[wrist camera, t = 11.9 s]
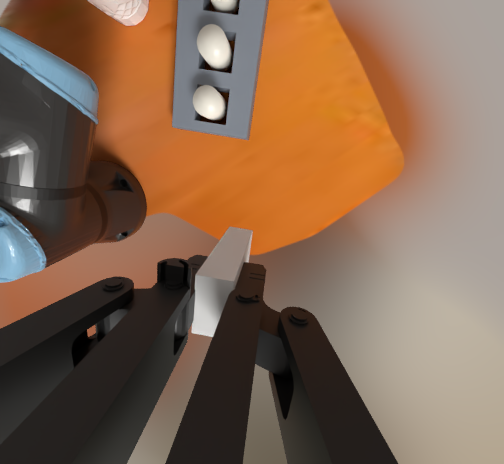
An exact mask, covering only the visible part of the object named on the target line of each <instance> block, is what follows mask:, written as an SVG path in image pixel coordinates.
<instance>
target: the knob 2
mask: <svg viewBox="0 0 504 464" xmlns="http://www.w3.org/2000/svg"><path fill="white" fill-rule="evenodd" d="M210 1H211V3H212V5H213V7H214V9H215V11H216V12H220V13H227V14H234V13H235V12H236V10H237V9H238V6H239V2H240V0H210Z"/></svg>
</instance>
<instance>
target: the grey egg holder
mask: <svg viewBox="0 0 504 464" xmlns="http://www.w3.org/2000/svg"><path fill="white" fill-rule="evenodd" d="M268 3H269V0H240V4H239V12H238V15H234V14H227V13H220V12H212V11H209V10H210V0H178V17H177V38H176V59H175V80H174V100H173V121H172V127H174V128H178V129H183V130H189V131H196V132H202V133H208V134H214V135H220V136H226V137H232V138H238V139H244V140H249V135H250V128H251V121H252V114H253V107H254V100H255V93H256V86H257V79H258V72H259V65H260V58H261V51H262V44H263V38H264V31H265V24H266V17H267V10H268ZM209 24H214V25H217V26H219V27H220V28H221V29H222V30H223V31H224V33H225V35H226V38H227V40H229V41H235V48H234V57H233V66H232V74H231V73H224V72H218V71H211V70H205V59H204V58H203V56H202V55H201V54H200V52H199V50H198V47H197V37H198V34H199V32H200V30H201V29H202V28H203V27H204V26H206V25H209ZM203 85H209V86H212V87H214V88H215V89H216V90H217V91H219V92H225V93H229V101H228V110H227V119H226V125H221V124H215V123H209V122H203V121H200V120H201V115H200V114H199V113H198V112H197V111H196V110H195V108H194V105H193V95H194V93H195V91H196V90H197V89H198V88H199V87H200V86H203Z"/></svg>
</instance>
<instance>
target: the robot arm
mask: <svg viewBox="0 0 504 464" xmlns="http://www.w3.org/2000/svg"><path fill="white" fill-rule="evenodd" d="M98 100H99V91H98V88H97V86H96V84H95V82H94V81H93V80H92V79H91V78H90V77H89V76H88V75H87V74H86V73H84V72H83V71H81V70H79V69H78V68H76V67H75V66H73V65H71V64H70V63H68V62H66V61H64V60H63V59H61V58H59V57H58V56H56V55H54V54H52V53H50V52H49V51H47V50H45V49H43V48H42V47H40V46H38V45H36V44H34V43H32V42H30V41H29V40H27V39H25V38H23V37H21V36H19V35H18V34H16V33H14V32H12V31H10V30H8V29H6V28H4V27H0V283H1V282H9V281H14V280H16V279H19V278H21V277H24V276H26V275H29V274H31V273H36V272H39V271H41V270H43V269H44V268H46V267H48V266H50V265H52V264H54V263H56V262H58V261H60V260H62V259H64V258H66V257H68V256H70V255H72V254H74V253H76V252H78V251H80V250H82V249H84V248H86V247H87V246H89V245H92V244H94V243H111V242H118V241H121V240H124V239H126V238H127V237H130V236H131V235H133V234H135V233H136V232H137V231H138V230H139V229H140V228H141V226H142V224H143V222H144V220H145V217H146V210H147V206H146V199H145V195H144V192H143V190H142V188H141V186H140V184H139V183H138V181H137V180H136V179H135V177H134V176H133V175H132V174H131V173H130V172H129V171H127V170H126V169H125V168H123V167H121V166H120V165H117V164H115V163H112V162H108V161H91V154H92V148H93V142H94V136H95V130H96V124H98V119H97V110H98ZM252 232H253V230H247V229H241V228H234V227H229V228H228V230H227V231H226V232H225V234H224V235H223V237H222V238H221V239H220V241H219V242H218V244H217V245H216V247H215V248H214V249H213V251H212V252H211V254H210V255H209V256H208V257H207V256H202V255H195V256H193V257H190V258H189V259H188V260H184V259H177V258H172V259H165V260H162V261H160V262H158V265H157V270H158V271H157V274H158V275H157V283H156V284H155V285H154V286H153V287H152V288H149V289H134V283H133V281H132V280H130V279H129V278H125V277H112V278H107V279H104V280H101V281H99V282H97V283H95V284H93V285H91V286H88V287H86V288H84V289H82V290H80V291H78V292H76V293H74V294H72V295H70V296H68V297H66V298H64V299H62V300H59V301H57V302H55V303H53V304H51V305H49V306H47V307H45V308H43V309H41V310H39V311H36V312H34V313H32V314H30V315H28V316H26V317H24V318H22V319H20V320H18V321H16V322H14V323H12V324H10V325H7V326H5V327H3V328H1V329H0V464H127V462H128V460H129V458H130V456H131V454H132V452H133V450H134V448H135V446H136V444H137V442H138V440H139V437H140V436H141V434H142V432H143V430H144V428H145V426H146V423H147V422H148V420H149V417H150V415H151V413H152V412H153V410H154V408H155V405H156V403H157V402H158V399H159V397H160V395H161V393H162V391H163V389H164V387H165V385H166V383H167V381H168V379H169V377H170V375H171V373H172V371H173V369H174V367H175V365H176V363H177V361H178V359H179V357H180V355H181V353H182V351H183V349H184V347H185V345H186V343H187V340H188V330H189V328H190V326H191V324H192V333H195V334H200V335H205V336H211V337H213V338H212V341H211V343H210V346H209V349H208V351H207V354H206V357H205V359H204V362H203V365H202V367H201V370H200V373H199V375H198V378H197V381H196V384H195V386H194V389H193V391H192V394H191V397H190V399H189V402H188V405H187V407H186V410H185V413H184V416H183V418H182V421H181V423H180V426H179V429H178V431H177V434H176V437H175V439H174V442H173V445H172V447H171V450H170V453H169V455H168V458H167V461H166V463H165V464H243V455H244V447H245V440H246V432H247V424H248V416H249V408H250V400H251V391H252V384H253V376H254V367H255V364H257V365H259V366H261V367H262V368H264V369H266V370H268V371H269V379H270V383H271V388H272V393H273V398H274V402H275V407H276V412H277V416H278V421H279V426H280V430H281V435H282V439H283V444H284V449H285V454H286V458H287V463H288V464H398V463H397V461H396V459H395V457H394V455H393V454H392V452H391V450H390V448H389V447H388V445H387V443H386V441H385V439H384V438H383V436H382V434H381V432H380V430H379V429H378V427H377V425H376V424H375V422H374V420H373V418H372V416H371V414H370V413H369V411H368V409H367V408H366V406H365V404H364V402H363V400H362V399H361V397H360V395H359V393H358V391H357V390H356V388H355V386H354V384H353V383H352V381H351V379H350V377H349V376H348V374H347V372H346V370H345V368H344V367H343V365H342V363H341V361H340V359H339V358H338V356H337V354H336V352H335V351H334V349H333V347H332V345H331V344H330V342H329V340H328V338H327V336H326V335H325V333H324V331H323V329H322V328H321V326H320V324H319V322H318V321H317V319H316V318H315V316H314V315H313V314H312V313H310V312H308V311H307V310H305V309H302V308H299V307H287V308H285V309H283V310H282V311H281V313H280V312H277V311H275V310H273V309H271V308H270V307H268V306H267V305H266V304H265V303H264V301H263V291H264V283H265V274H266V269H265V268H264V266H263V265H259V264H253V263H248V261H249V254H250V247H251V239H252ZM93 325H95V326H96V333H95V334H94V335H92V336H90V337H88V336H87V329H89V328H90V327H92V326H93Z"/></svg>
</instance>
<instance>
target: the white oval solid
mask: <svg viewBox="0 0 504 464" xmlns="http://www.w3.org/2000/svg"><path fill="white" fill-rule="evenodd" d="M197 47H198V50H199V52H200V54H201V55H202V56H203V58H204V59H205V60H206V62H207V63H208V64H209V65H210V67H211V68H212V69H213V70H215V71H218V72H224V71H226V70H228V69H229V68H230V66H231V65H232V62H233V51H232V49H231V47H230V44H229V42H228V40H227V38H226V35H225V33H224V31H223V30H222V29H221V28H220V27H219V26H217V25H214V24H209V25H206V26H204V27H203V28H202V29H201V30H200V32H199V34H198V37H197Z"/></svg>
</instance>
